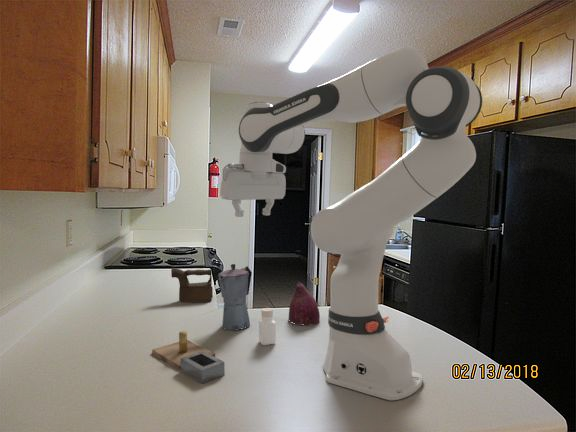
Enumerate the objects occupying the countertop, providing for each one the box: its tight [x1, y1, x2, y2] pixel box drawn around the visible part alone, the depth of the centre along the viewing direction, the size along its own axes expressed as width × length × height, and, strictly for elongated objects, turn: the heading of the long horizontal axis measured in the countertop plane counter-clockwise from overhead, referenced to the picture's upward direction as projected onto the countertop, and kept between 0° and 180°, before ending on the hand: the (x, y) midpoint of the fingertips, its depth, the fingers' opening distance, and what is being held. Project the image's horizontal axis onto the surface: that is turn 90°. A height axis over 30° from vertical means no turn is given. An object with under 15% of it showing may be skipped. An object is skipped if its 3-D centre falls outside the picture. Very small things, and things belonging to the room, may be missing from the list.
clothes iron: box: [170, 267, 214, 303], centre depth 152 cm, size 8×16×13 cm, turn 101°
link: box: [180, 351, 226, 384], centre depth 88 cm, size 9×6×3 cm, turn 45°
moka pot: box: [218, 263, 252, 331], centre depth 121 cm, size 10×15×20 cm, turn 152°
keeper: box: [151, 330, 216, 371], centre depth 98 cm, size 14×10×6 cm
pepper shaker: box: [258, 307, 277, 346], centre depth 106 cm, size 4×4×10 cm
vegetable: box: [288, 281, 321, 326], centre depth 125 cm, size 10×10×15 cm
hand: (253, 215), depth 104 cm, fingers open, 8 cm apart
